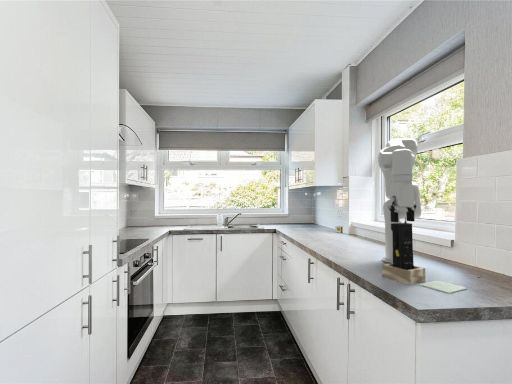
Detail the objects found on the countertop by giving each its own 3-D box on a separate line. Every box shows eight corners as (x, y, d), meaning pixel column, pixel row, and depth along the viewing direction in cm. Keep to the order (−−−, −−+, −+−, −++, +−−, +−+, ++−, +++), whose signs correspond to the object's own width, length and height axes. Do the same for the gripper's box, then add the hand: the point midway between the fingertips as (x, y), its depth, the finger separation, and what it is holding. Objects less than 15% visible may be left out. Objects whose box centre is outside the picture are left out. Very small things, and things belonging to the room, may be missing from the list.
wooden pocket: (398, 273, 127) (398, 262, 127) (425, 280, 116) (425, 268, 116) (382, 276, 123) (382, 264, 123) (408, 284, 112) (408, 271, 112)
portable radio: (401, 281, 115) (400, 218, 115) (389, 277, 121) (388, 217, 121) (415, 279, 118) (415, 217, 118) (403, 276, 123) (402, 216, 124)
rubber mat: (436, 281, 116) (436, 280, 116) (467, 289, 106) (467, 288, 106) (419, 285, 111) (419, 284, 111) (449, 293, 101) (449, 292, 101)
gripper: (407, 181, 127) (408, 220, 127) (379, 179, 119) (380, 221, 119) (424, 180, 120) (424, 221, 120) (395, 178, 113) (396, 223, 112)
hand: (402, 221), depth 119 cm, fingers open, 9 cm apart
